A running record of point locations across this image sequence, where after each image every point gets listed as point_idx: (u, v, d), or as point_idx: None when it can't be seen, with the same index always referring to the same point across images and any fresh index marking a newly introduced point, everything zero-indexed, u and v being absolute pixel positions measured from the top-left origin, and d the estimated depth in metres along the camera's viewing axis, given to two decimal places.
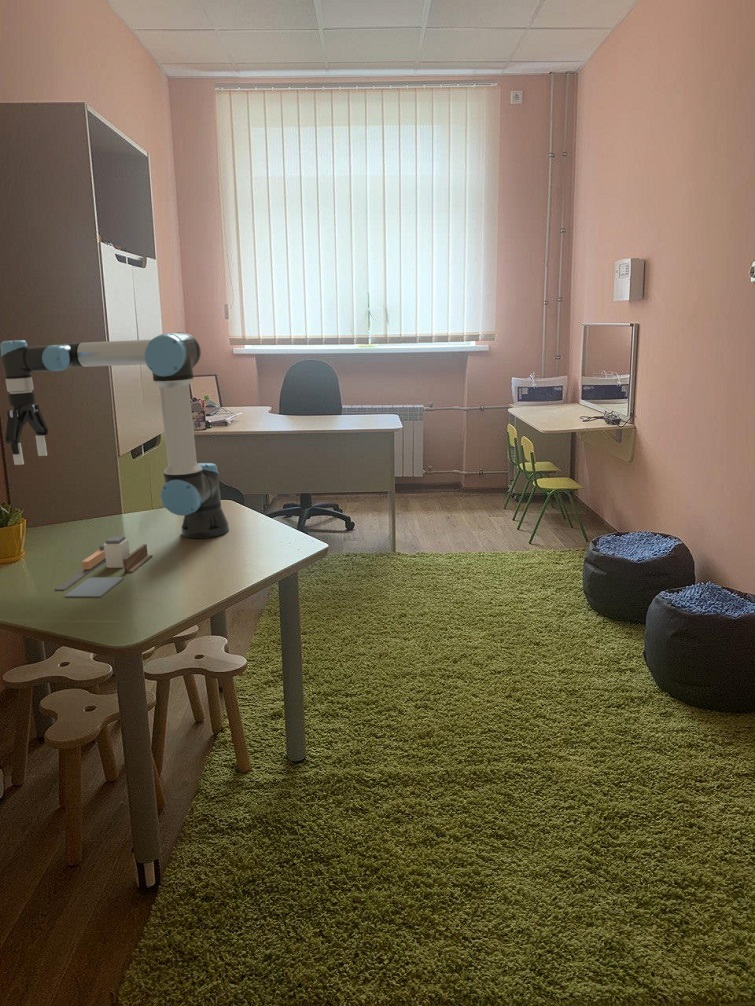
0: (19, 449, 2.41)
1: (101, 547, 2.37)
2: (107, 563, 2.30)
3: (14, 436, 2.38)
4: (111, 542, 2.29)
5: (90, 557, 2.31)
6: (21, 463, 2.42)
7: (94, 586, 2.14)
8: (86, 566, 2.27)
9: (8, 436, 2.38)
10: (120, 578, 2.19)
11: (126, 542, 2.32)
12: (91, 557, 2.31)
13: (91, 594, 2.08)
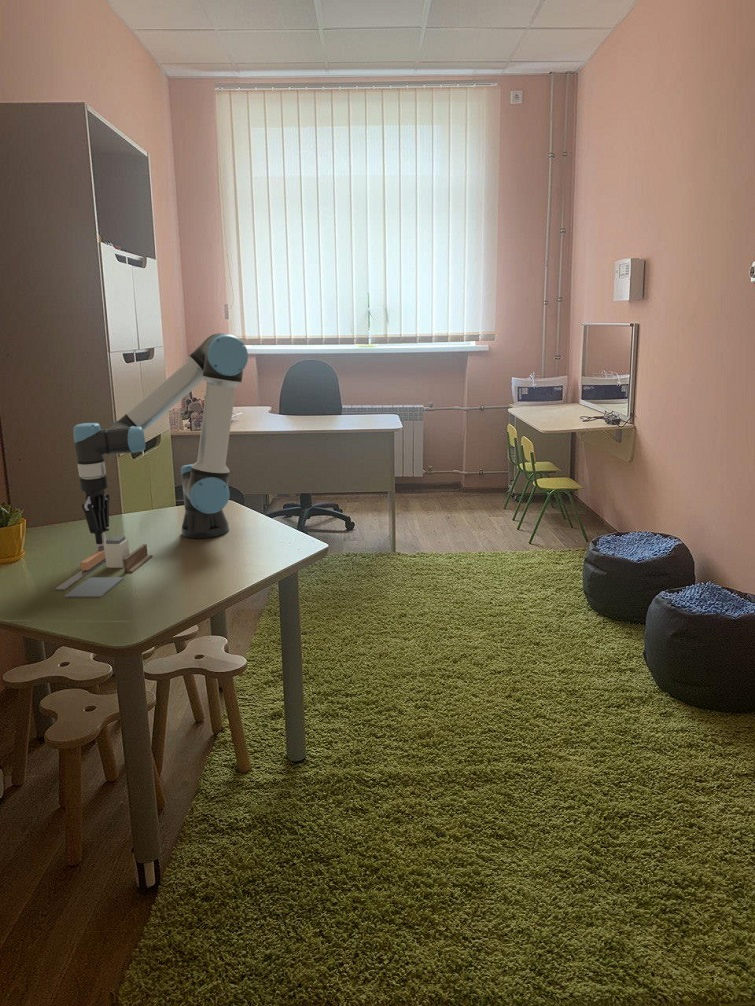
0: (103, 539, 2.37)
1: (100, 548, 2.36)
2: (107, 563, 2.30)
3: (97, 527, 2.33)
4: (111, 542, 2.29)
5: (89, 558, 2.30)
6: None
7: (94, 586, 2.14)
8: (84, 567, 2.27)
9: (91, 528, 2.33)
10: (120, 578, 2.19)
11: (126, 542, 2.32)
12: (89, 557, 2.30)
13: (91, 594, 2.08)
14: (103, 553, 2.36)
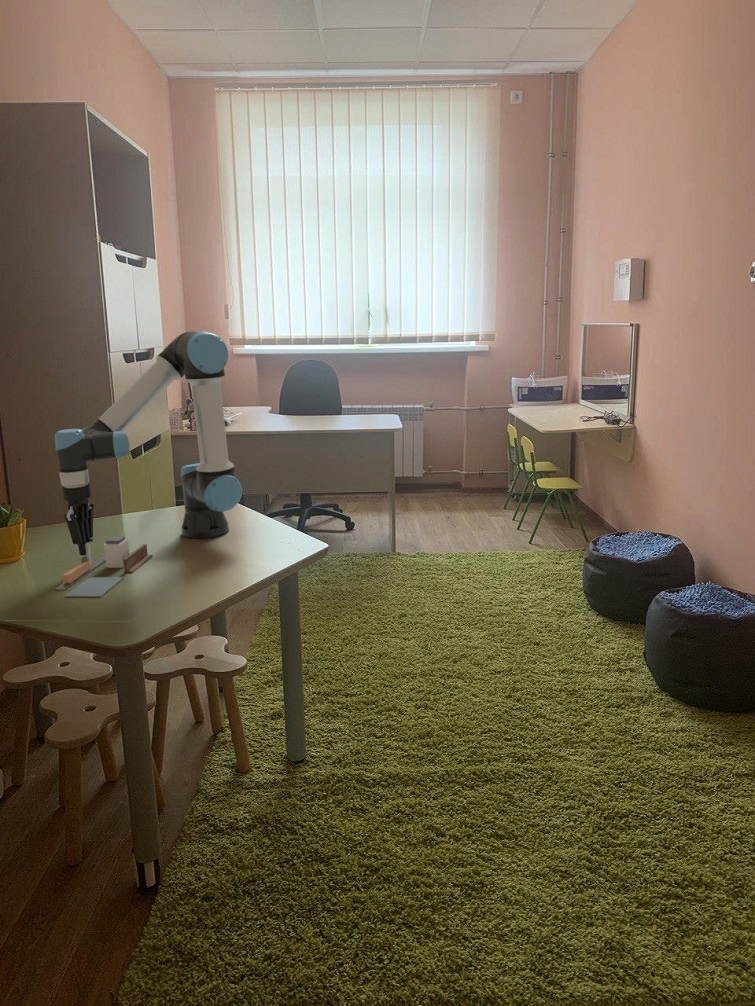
0: (86, 550, 2.27)
1: (83, 559, 2.26)
2: (107, 563, 2.30)
3: (80, 537, 2.23)
4: (111, 542, 2.29)
5: (71, 570, 2.20)
6: None
7: (94, 586, 2.14)
8: (66, 579, 2.17)
9: (74, 539, 2.23)
10: (120, 578, 2.19)
11: (126, 542, 2.32)
12: (72, 570, 2.20)
13: (91, 594, 2.08)
14: (86, 565, 2.26)
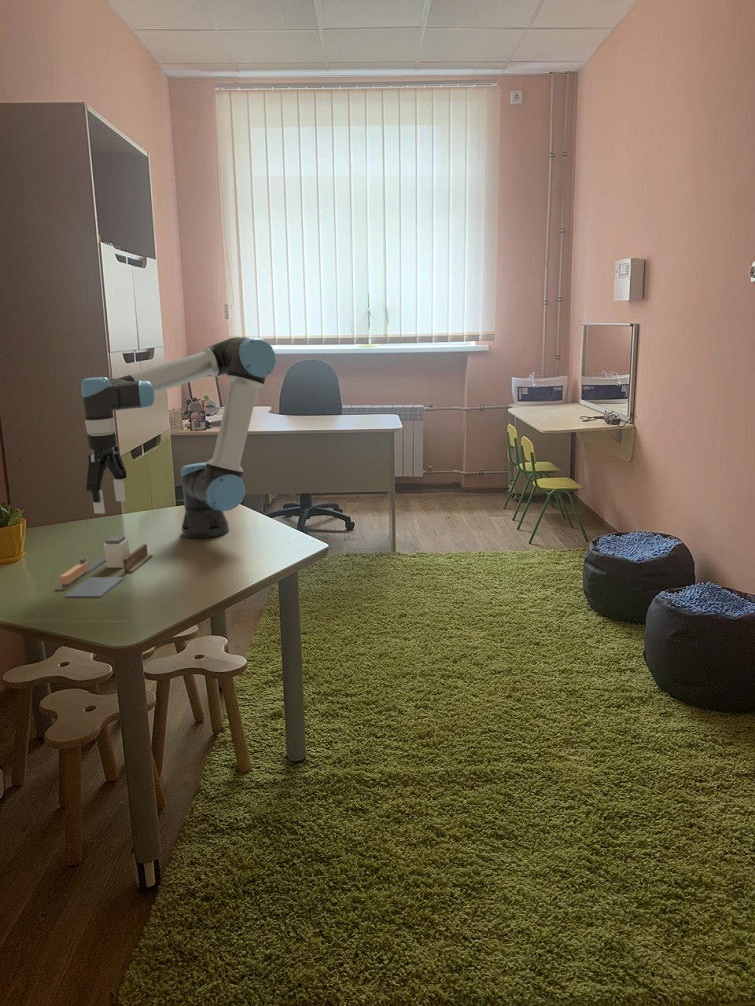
0: (100, 497, 2.20)
1: (81, 560, 2.25)
2: (107, 563, 2.30)
3: (96, 483, 2.17)
4: (111, 542, 2.29)
5: (69, 571, 2.19)
6: (102, 512, 2.21)
7: (94, 586, 2.14)
8: (64, 581, 2.16)
9: (89, 483, 2.17)
10: (120, 578, 2.19)
11: (126, 542, 2.32)
12: (70, 571, 2.19)
13: (91, 594, 2.08)
14: (85, 566, 2.25)
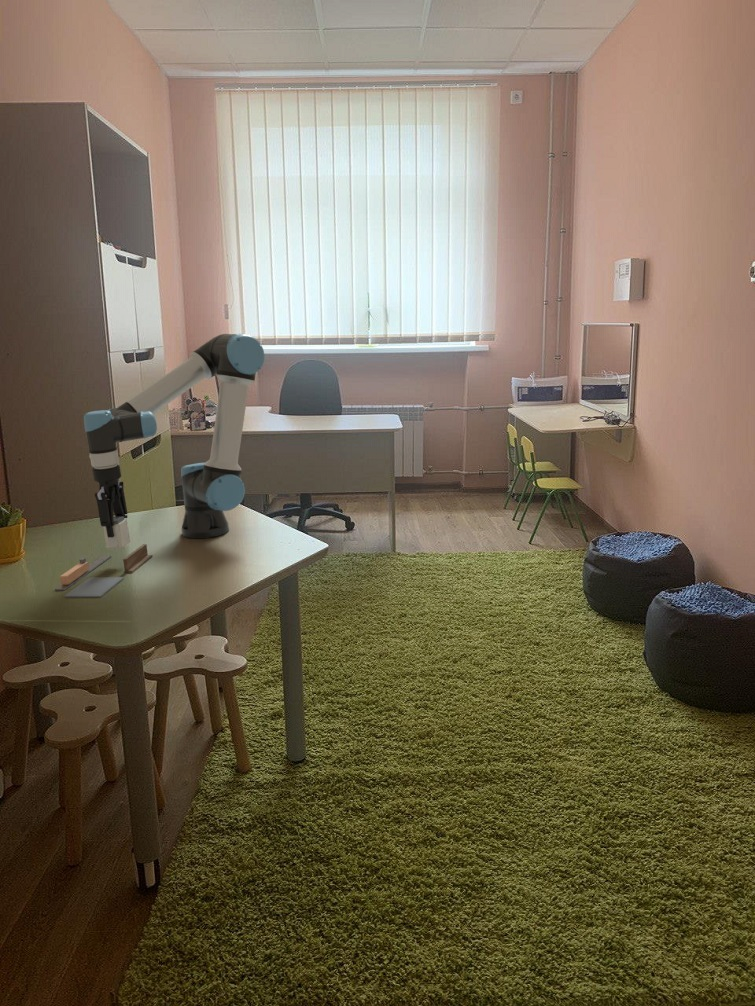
0: (114, 531, 2.27)
1: (81, 560, 2.25)
2: (106, 543, 2.29)
3: (109, 519, 2.24)
4: None
5: (69, 571, 2.19)
6: (116, 546, 2.28)
7: (94, 586, 2.14)
8: (64, 581, 2.16)
9: (103, 520, 2.23)
10: (120, 578, 2.19)
11: (125, 522, 2.31)
12: (70, 571, 2.19)
13: (91, 594, 2.08)
14: (85, 566, 2.25)
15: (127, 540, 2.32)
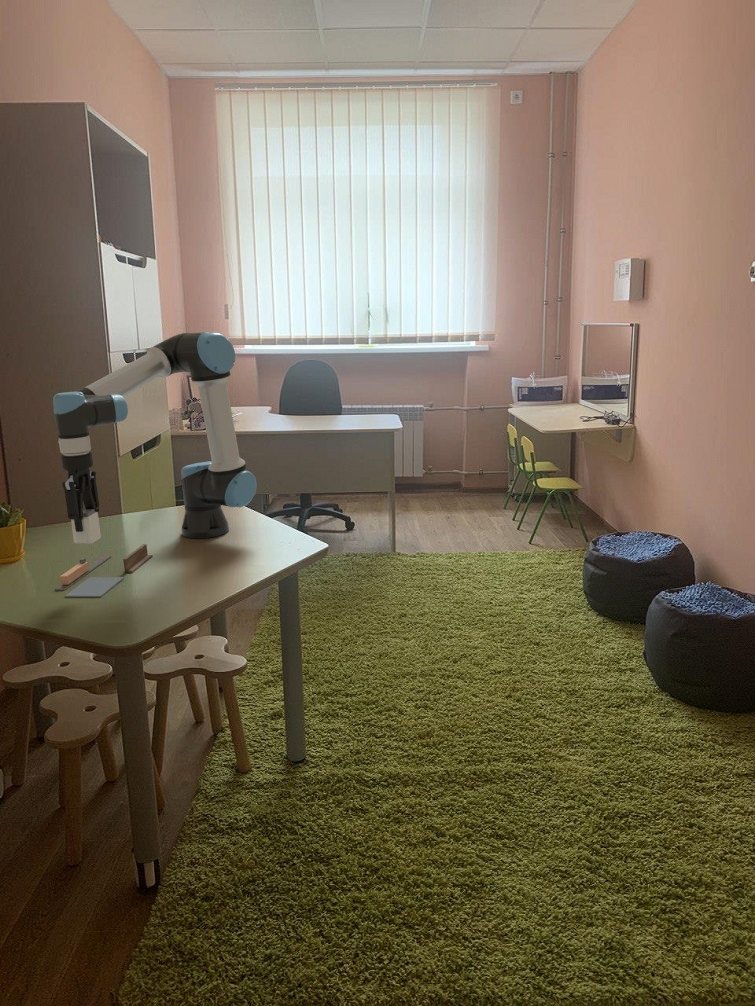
0: (83, 525, 2.06)
1: (81, 560, 2.25)
2: (74, 538, 2.08)
3: (77, 511, 2.03)
4: None
5: (69, 571, 2.19)
6: (85, 541, 2.07)
7: (94, 586, 2.14)
8: (64, 581, 2.16)
9: (70, 512, 2.03)
10: (120, 578, 2.19)
11: (96, 515, 2.10)
12: (70, 571, 2.19)
13: (91, 594, 2.08)
14: (85, 566, 2.25)
15: (97, 535, 2.11)
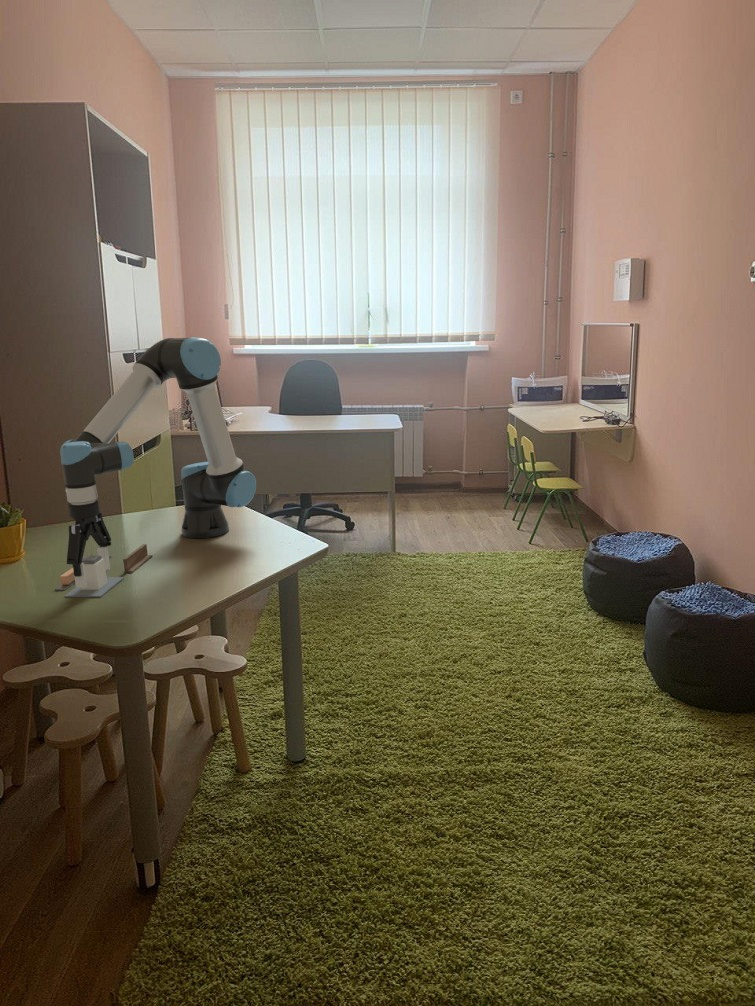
0: (82, 570, 2.05)
1: None
2: None
3: (77, 556, 2.02)
4: (85, 562, 2.10)
5: (69, 571, 2.19)
6: (84, 586, 2.06)
7: None
8: (64, 581, 2.16)
9: (70, 557, 2.02)
10: (120, 578, 2.19)
11: (102, 562, 2.14)
12: (70, 571, 2.19)
13: (91, 594, 2.08)
14: None
15: (103, 581, 2.14)
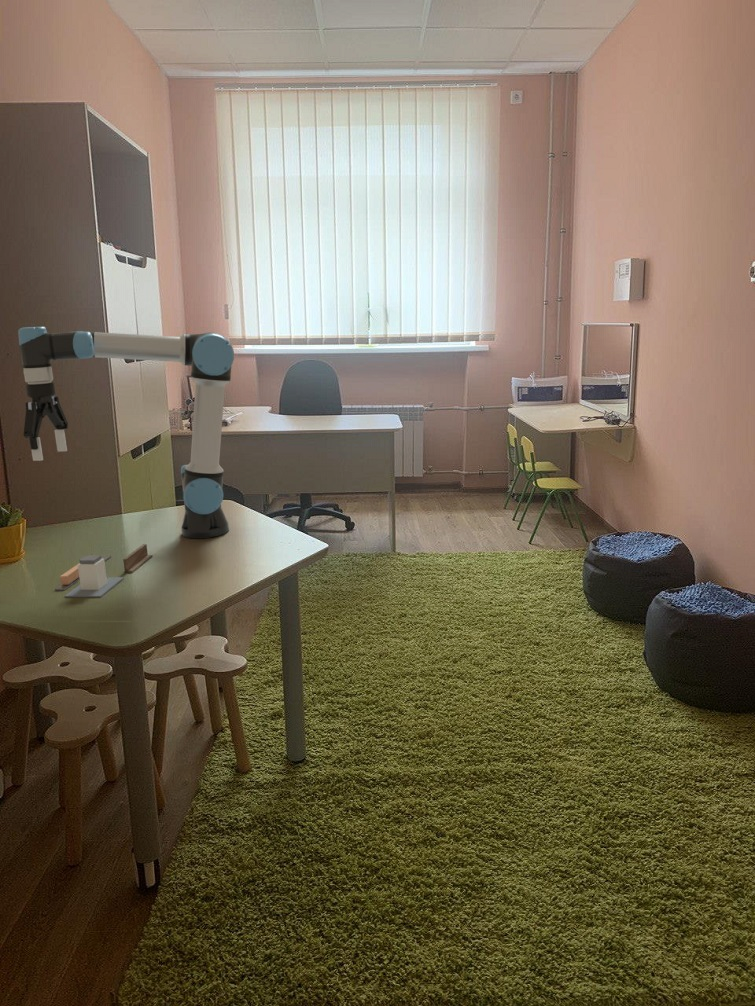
0: (38, 444, 2.24)
1: None
2: (81, 585, 2.12)
3: (33, 430, 2.21)
4: (85, 562, 2.10)
5: (69, 571, 2.19)
6: (40, 459, 2.25)
7: None
8: (64, 581, 2.16)
9: (26, 430, 2.21)
10: (120, 578, 2.19)
11: (102, 562, 2.14)
12: (70, 571, 2.19)
13: (91, 594, 2.08)
14: None
15: (103, 581, 2.14)
